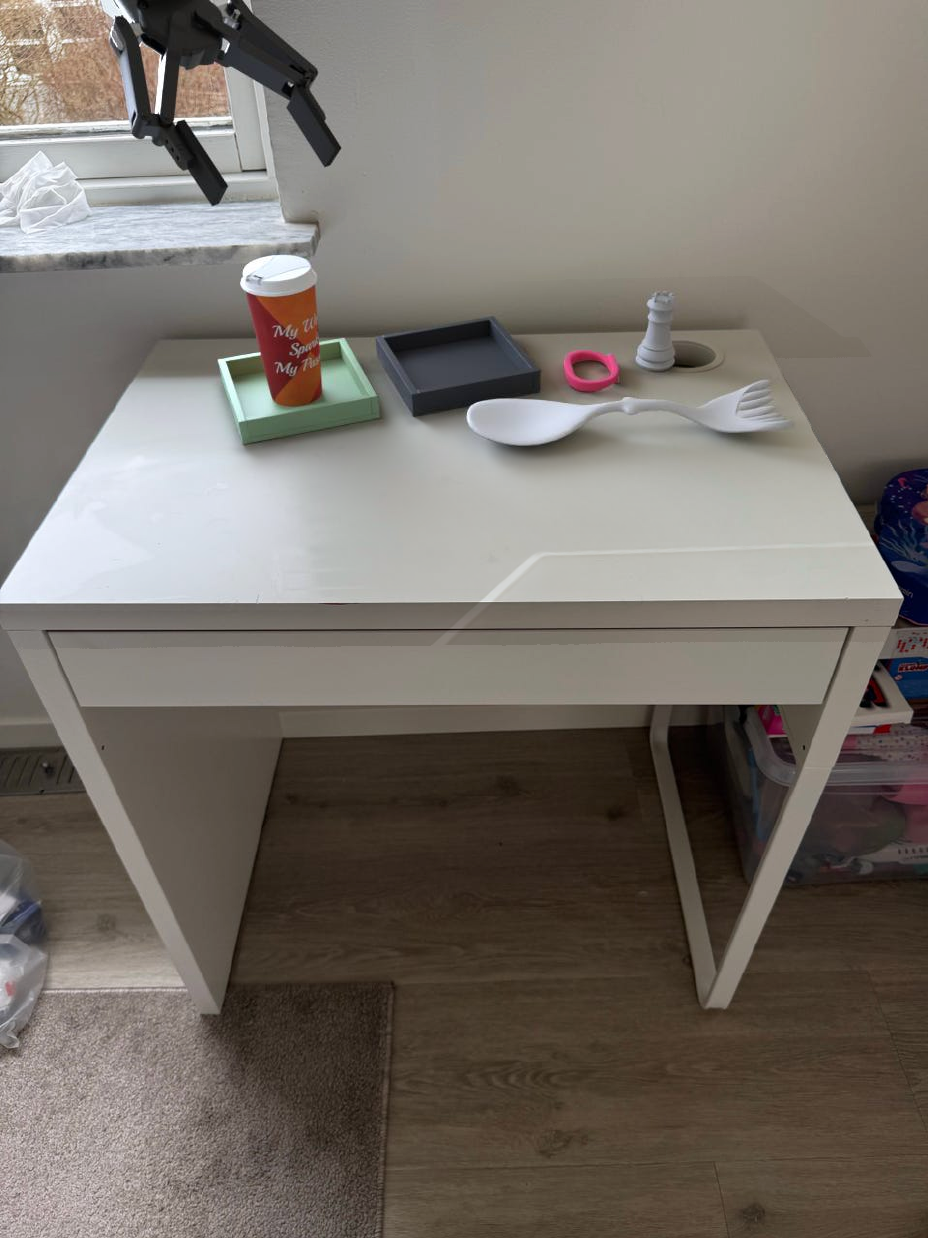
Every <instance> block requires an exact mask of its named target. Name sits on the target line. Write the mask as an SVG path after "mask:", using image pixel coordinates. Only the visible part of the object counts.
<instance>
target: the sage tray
mask: <svg viewBox="0 0 928 1238" xmlns="http://www.w3.org/2000/svg"><path fill="white" fill-rule="evenodd" d="M319 347H320V361H321V377H322V394H321V396H320V397H319V398H318V399H317V400H316V401H314V402H312V403H310V404H307V405H302V406H283V405H280V404H278V403H276V402H274V401H273V399H272V397H271V394H270V390H269V386H268V383H267V379H266V375H265V371H264V367H263V363H262V358H261V354H260V351H259V352H254V353H248V354H242V355H236V356H235V355H234V356H230V357H224V358H218V359H217V363H218V368H219V372H220V377H221V381H222V384H223V387H224V391H225V393H226V396H227V397H226V398H227V399H228V403H229V407H230V409H231V412H232V415H233V418H234V422H235V424H236V427H237V429H238V434H239V437H240V440H241V443H242V445H247V444H252V443H257V442H262V441H268V440H271V439H279V438H283V437H288V436H294V435H299V434H304V433H308V432H309V433H310V432H314V431H319V430H320V431H321V430H324V429H329V428H336V427H340V426H346V425H350V424H355V423H360V422H366V421H370V420H377V419H380V418H381V417H380V415H381V414H380V405H379V396H378V395H377V392H376V391H375V389H374V388H373V385H372V384H371V382H370V380H369V378H368V377H367V375H366V373H365V371H364V369H363V368H362V366H361V364H360V362H359V361H358V359H357V357H356V355H355V353H354V352H353V350H352V349H351V347H350V345H349V343H348V341H347V340H346V338H345V337H341V338H335V339H329V340H324V341H323V340H322V341H319Z"/></svg>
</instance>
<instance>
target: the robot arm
mask: <svg viewBox="0 0 928 1238" xmlns="http://www.w3.org/2000/svg"><path fill="white" fill-rule="evenodd" d="M114 1H115V4H116V5H117V6H118V7H119V9H120V11H121V12H122V14H123V15H124V16H123V15H117V16H116V17H114V21H113V24H112V27H111V31H110V34H109V37H108V42H109V45H110V47H111V48H112V51H113V52H114V54H115V56H116V58H117V59H118V62H119V66H120V67H119V68H120V73H121V79H122V80H121V81H122V86H123V91H124V97H125V104H126V110H127V115H128V123H129V127H130V132H131V135H132V136H133V138H135V139H137V140H144V139H145V138H146V137H150V141H151V143H152V144H153V145H154V146H156V147H159V148H162V147H163V146H164V148H165V149H166V151H167V152H168V154H169V155H170V157H171V158H172V160H173V161H174V163H175V164H176V166H177V167H178V168H179V169H180V170H181V171H182V172H184V171H188V172H189V174H190V175H191V177H192V178H193V180H194V181H195V183H196V184H197V186H198V187H199V189H200V190H201V192H202V193H203V195H204V196H205V198H206V199H207V201H208V202H209V204H210V206H211V207H215V206H218V205H220V203H221V201H222V199H223V197H224V196H225V193H226V191H227V189H228V188H229V185H228V183H227V181H226V180H225V179H224V177H223V176H222V174H221V173H220V172H221V171H219V169H218V168H217V167H216V164H215V163H214V162H213V160H212V159H211V157H210V155H209V154H208V153H207V151H206V149H205V148H204V147H203V145H202V143H201V142H200V141H199V139H198V137H197V136H196V134H195V133H194V131H193V130H192V128H191V126H189V124H188V122H187V121H186V119H181V120H177V121H176V124H175V122H174V121H175V116H176V115H175V114H176V104H177V95H178V86H179V76H180V75H179V74H180V68H184V69H185V71H190V70H194V69H196V67H198V66H210V65H214V64H215V63H216V64H217V65H219V66H221V67H224V68H225V69H226V68H227V69H228V68H233V69H234V70H236V71H238V72H239V73H242V74H243V75H244V76H247V77H248V78H250V79H252V80H253V81H255V82H257V83H258V84H260V85H261V86H264V87H265V88H267V89H269V90H271V91H272V92H273V93H275V94H277V95H279V96H280V97H282V98H284V99H286V100H288V103H287V105H286V107H285V108H286V110H287V111H288V113H289V115H290V116H291V118H292V119H293V121H294V123H295V124H296V125H297V127H298V128H299V130H300V131H301V133H302V135H303V136H304V138H305V139H306V141H307V143H308V144H309V146H310V147H311V149H312V150H313V152H314V153H315V155H316V156H317V158H318V160H319V161H320V162H321V164H322V166H323V168H328V167H330V166H332V163H333V162H334V160H336V157H337V156H338V154H339V153H340V151H341V150H342V146H341V144H340V143H339V142H338V140H337V138H336V137H335V135H334V134H333V132H332V131H331V129H330V127H329V126H328V124H327V122H326V119H327V117H326V113H325V111H324V110H323V108H322V107H321V105H320V104H319V102H318V100H317V99H316V97H315V96H314V95H313V92H312V91H311V88H312V86H313V84H314V82H315V80H316V78H317V77H318V75H319V70H318V68H317V67H316V66H315V65H314V64H313V63H311V62H310V61H309V60H308V59H307V58H306V57H305V56H303V55H302V54H301V53H300V52H299V51H298V50H296V49H295V48H294V47H292V46H291V45H290V44H289V43H288V42H287V41H285V40H284V39H283V38H282V37H281V36H280V35H279V34H278V33H277V32H275V31H274V30H273V29H272V28H270V26H268V25H267V24H266V23H264V21H262V20H261V19H260V18H258V17H257V16H256V15H255V14H254V13H253V12H252V10H251V9H250V7H249V6H248V5H247V4H246V3H245V1H244V0H228V1H227V2H225V3H224V4H220V5H216V4H215V3H214V2H213V1H211V0H114ZM224 40H226V41H227V42H228V44H227V47H226V48H225V50H224V49H223V46H224V45H223V44H224V42H223V41H224ZM142 44H143V45H144V46H146V47H147V48H149V49H150V50H152V51H154V52H155V53H156V54H158V55H160V56H159V63H158V72H157V76H158V81H157V91H156V99H155V100H156V102H155V109H154V112H152V107H151V101H150V96H149V95H150V94H149V89H148V85H147V79H146V71H145V67H144V61H143V56H142V50H141V45H142ZM289 83H290V84H291V86H290V84H289Z"/></svg>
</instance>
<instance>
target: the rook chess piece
mask: <svg viewBox="0 0 928 1238" xmlns="http://www.w3.org/2000/svg"><path fill="white" fill-rule="evenodd" d="M668 292H669V291H667V290H663V291H662V294H661V293H660V291H659V290H657V291H655V292H654V293H651V295H650V299H649V300H648V301H647V302H646V305H647V307H648V309H649V314H648V315H647V319H648V325H647V329H646V332H645V336H644V338H643V339H642V341H641V343H640V344H639V345H638V348H636V349H637V350H636V353H637V354H636V356H635V361H636V363H637V365H638V367H640V368H642V369H643V370H645V371H650V372H664V371H667V370H668V369H670V368H672V366H674V364H675V361H676V360H675V356H676V350H675V347H674V346H673V341H672V339H671V326H672V325H671V324H672V322H673V320H674V316H673V312H674V310H676V308H677V307H678V303H677V302H676V300H675V298H676V296H675V294H674V293H673V292H670V293H669V295H668Z"/></svg>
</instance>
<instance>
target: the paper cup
mask: <svg viewBox="0 0 928 1238" xmlns="http://www.w3.org/2000/svg"><path fill="white" fill-rule="evenodd" d="M317 281H318V274H317V273H316V271H315V270H314V269H313V267H312V264H311V263H310V262H309V260H308V259H306V258H304V257H302V256H298V255H293V254H273V255H267V256H261V257H258V258H256V259H254V260H251V261H250V262H249V263H247V264H246V265H245V266H244V268H243V270H242V277H241V280H240V287H241V289H242V290H243V291H244V292H245V295H246V300H247V304H248V308H249V313H250V316H251V320H252V321H251V322H252V326H253V329H254V333H255V337H256V341H257V345H258V346H257V347H258V350H259V352H260V354H261V358H262V363H263V367H264V371H265V375H266V379H267V383H268V386H269V390H270V394H271V397H272V399H273V401H274V402H276V403H278V404H280V405H283V406H302V405H307V404H310V403H312V402H314V401H316V400H317V399H318V398H319V397H320V396H321V394H322V377H321V361H320V347H319V342H320V333H319V322H318V321H319V320H318V308H317V307H318V306H317V293H316V284H317Z"/></svg>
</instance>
